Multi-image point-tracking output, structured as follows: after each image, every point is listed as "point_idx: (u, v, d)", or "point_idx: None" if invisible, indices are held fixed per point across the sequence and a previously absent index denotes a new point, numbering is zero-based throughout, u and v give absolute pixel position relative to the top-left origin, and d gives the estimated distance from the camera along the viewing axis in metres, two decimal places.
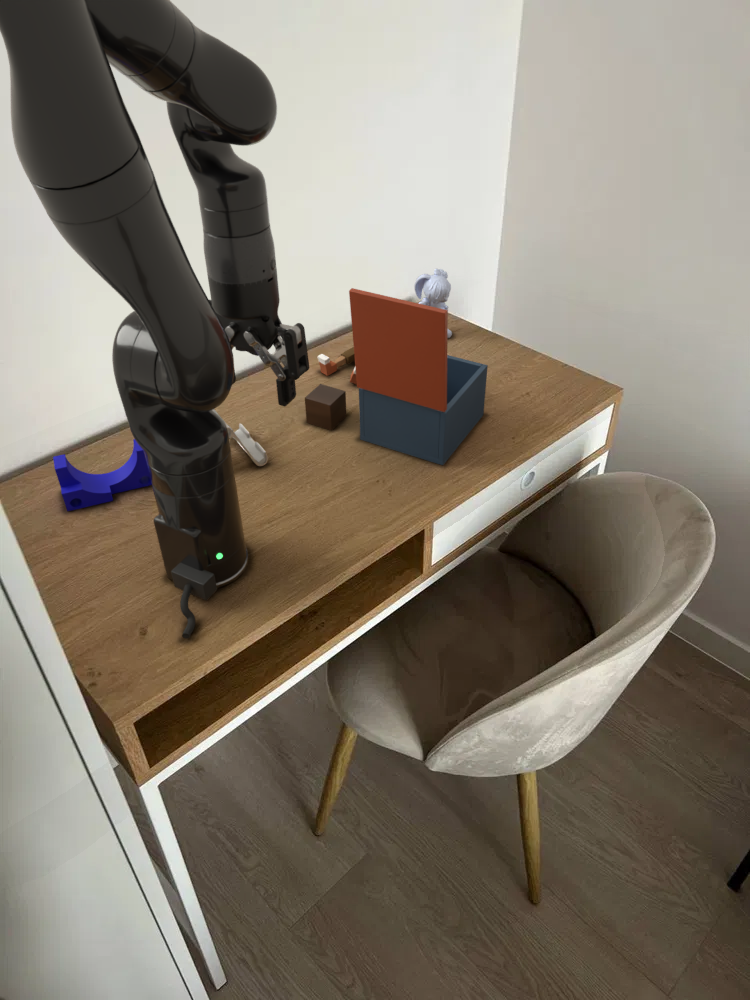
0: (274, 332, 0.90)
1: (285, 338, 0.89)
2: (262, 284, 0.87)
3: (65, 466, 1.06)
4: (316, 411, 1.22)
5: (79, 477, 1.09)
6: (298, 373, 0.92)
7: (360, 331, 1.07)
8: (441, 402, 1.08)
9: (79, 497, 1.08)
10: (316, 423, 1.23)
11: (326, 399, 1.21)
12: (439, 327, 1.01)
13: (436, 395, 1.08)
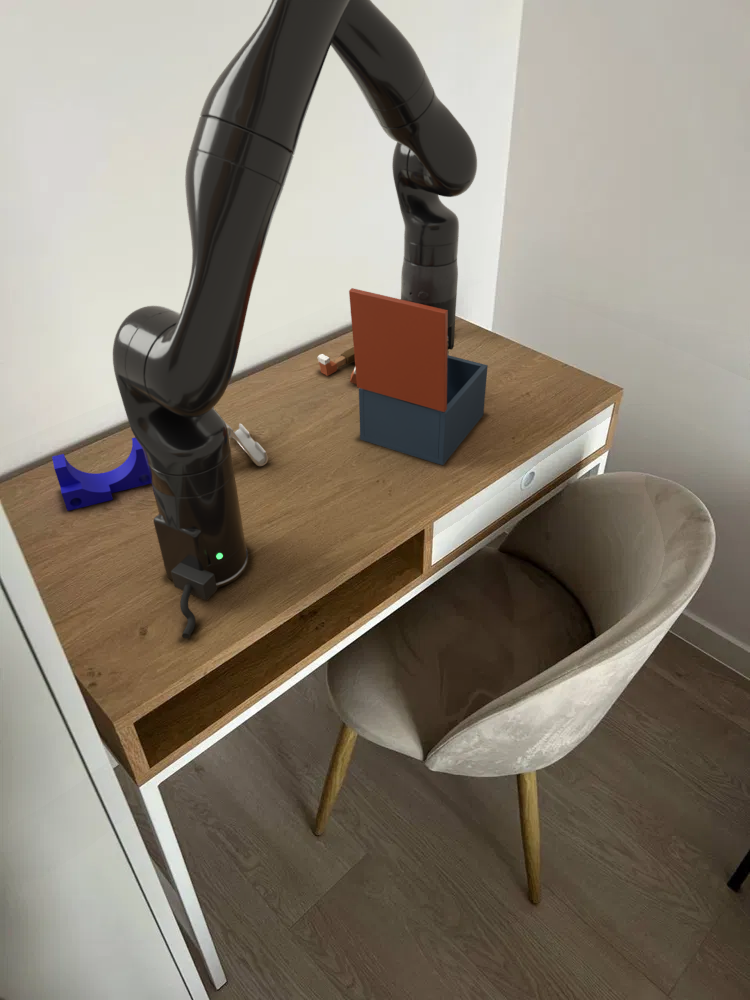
0: None
1: None
2: None
3: (65, 466, 1.06)
4: None
5: (78, 476, 1.09)
6: None
7: (360, 331, 1.07)
8: (441, 402, 1.08)
9: (79, 496, 1.08)
10: None
11: None
12: (439, 327, 1.01)
13: (436, 395, 1.08)
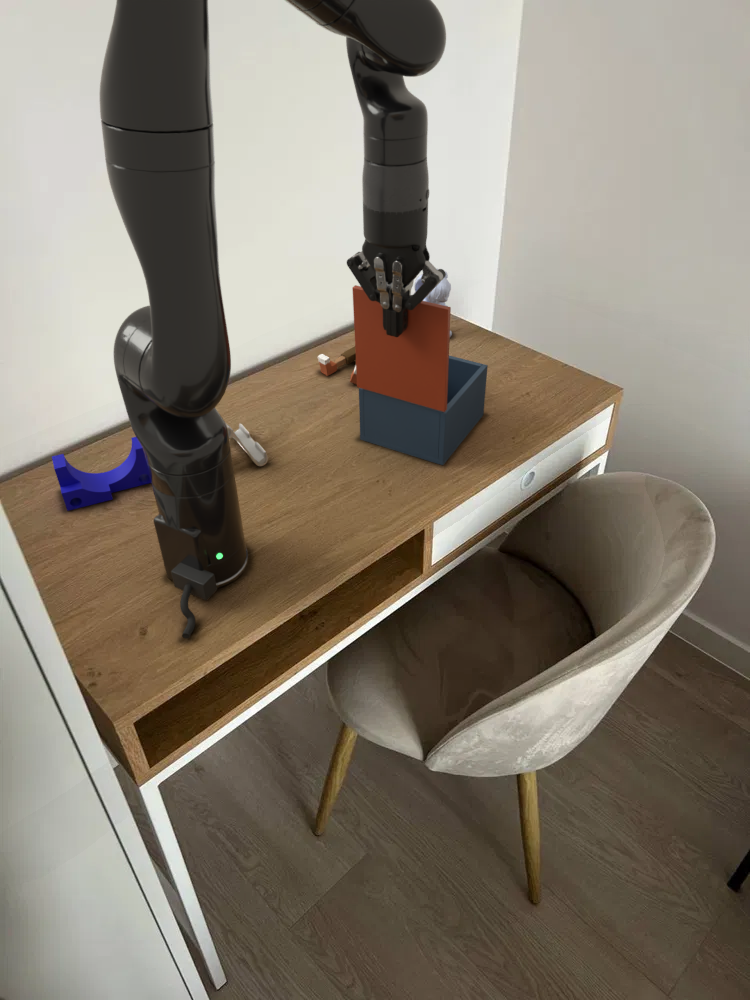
0: (421, 267, 0.96)
1: (429, 280, 0.96)
2: (418, 213, 0.91)
3: (64, 465, 1.07)
4: None
5: (78, 476, 1.09)
6: None
7: (362, 329, 1.08)
8: (442, 402, 1.08)
9: (79, 496, 1.08)
10: None
11: None
12: (442, 324, 1.01)
13: (437, 394, 1.08)
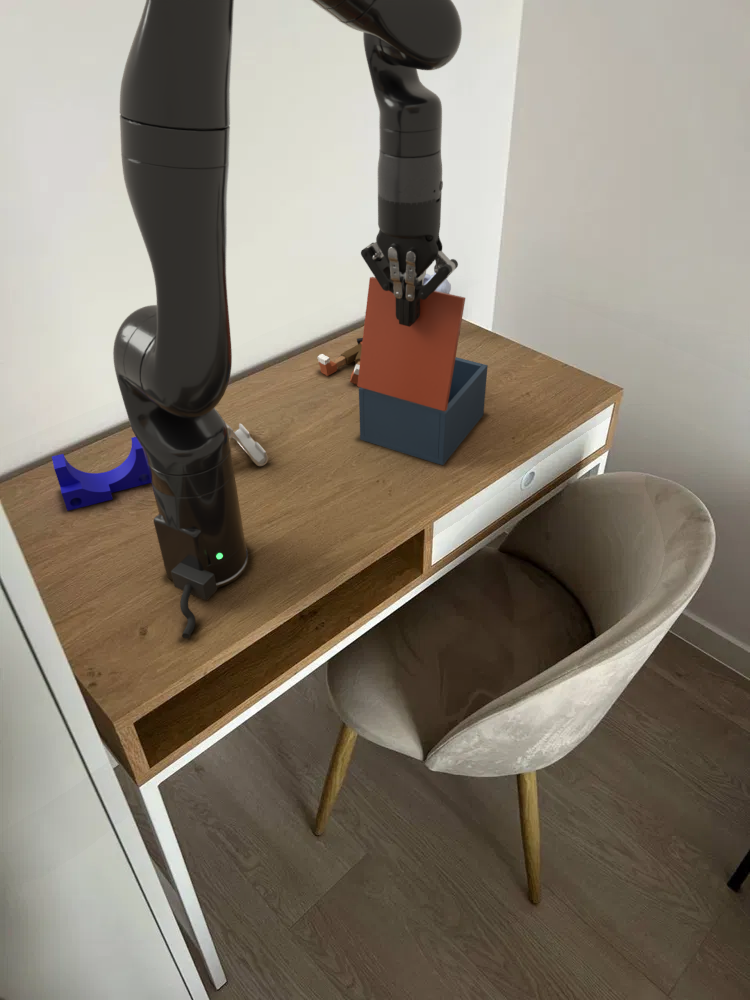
0: (434, 257, 0.98)
1: (441, 270, 0.98)
2: (431, 204, 0.94)
3: (64, 465, 1.07)
4: None
5: (78, 476, 1.09)
6: (427, 296, 1.01)
7: (372, 322, 1.10)
8: (443, 400, 1.09)
9: (79, 496, 1.08)
10: None
11: None
12: (455, 314, 1.04)
13: (439, 392, 1.09)
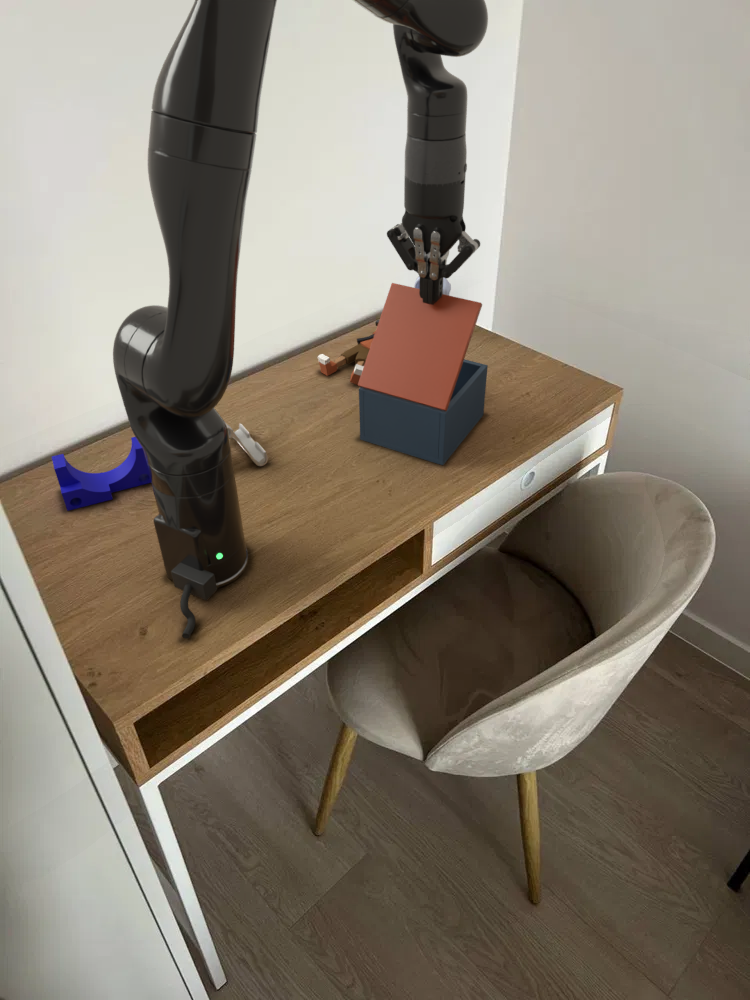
0: (458, 236, 1.03)
1: (465, 249, 1.03)
2: (456, 185, 0.98)
3: (64, 465, 1.07)
4: None
5: (78, 476, 1.09)
6: None
7: (386, 323, 1.14)
8: (445, 398, 1.09)
9: (79, 496, 1.08)
10: None
11: None
12: (470, 316, 1.09)
13: (443, 390, 1.10)
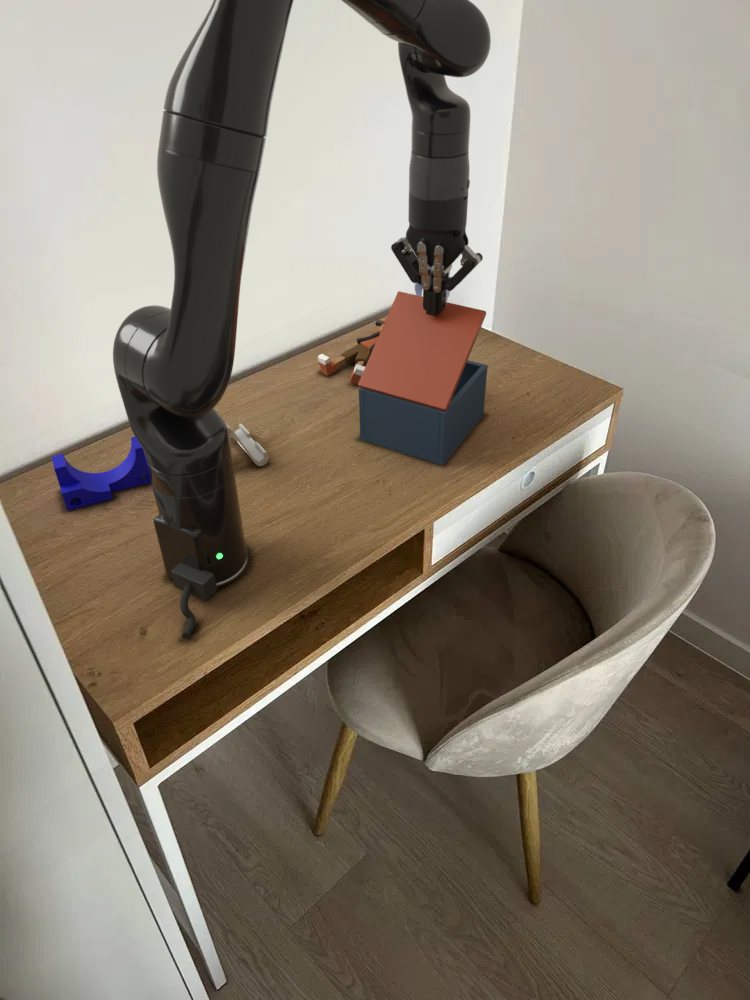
0: (461, 250, 1.05)
1: (468, 263, 1.05)
2: (459, 201, 1.01)
3: (64, 465, 1.07)
4: None
5: (78, 476, 1.09)
6: None
7: (391, 327, 1.15)
8: (446, 399, 1.10)
9: (79, 496, 1.08)
10: None
11: None
12: (474, 323, 1.12)
13: (444, 391, 1.10)
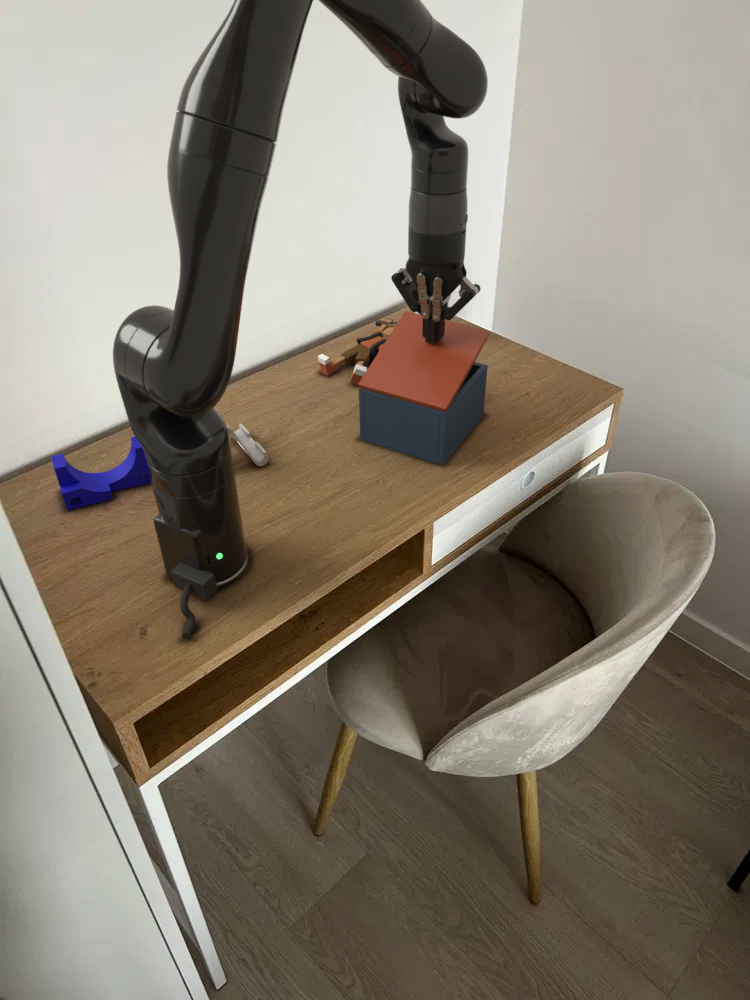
0: (459, 282, 1.08)
1: (466, 294, 1.08)
2: (458, 235, 1.04)
3: (64, 465, 1.07)
4: None
5: (78, 476, 1.09)
6: (452, 317, 1.11)
7: (395, 339, 1.18)
8: (447, 400, 1.10)
9: (79, 496, 1.08)
10: None
11: None
12: (478, 340, 1.15)
13: (445, 393, 1.11)
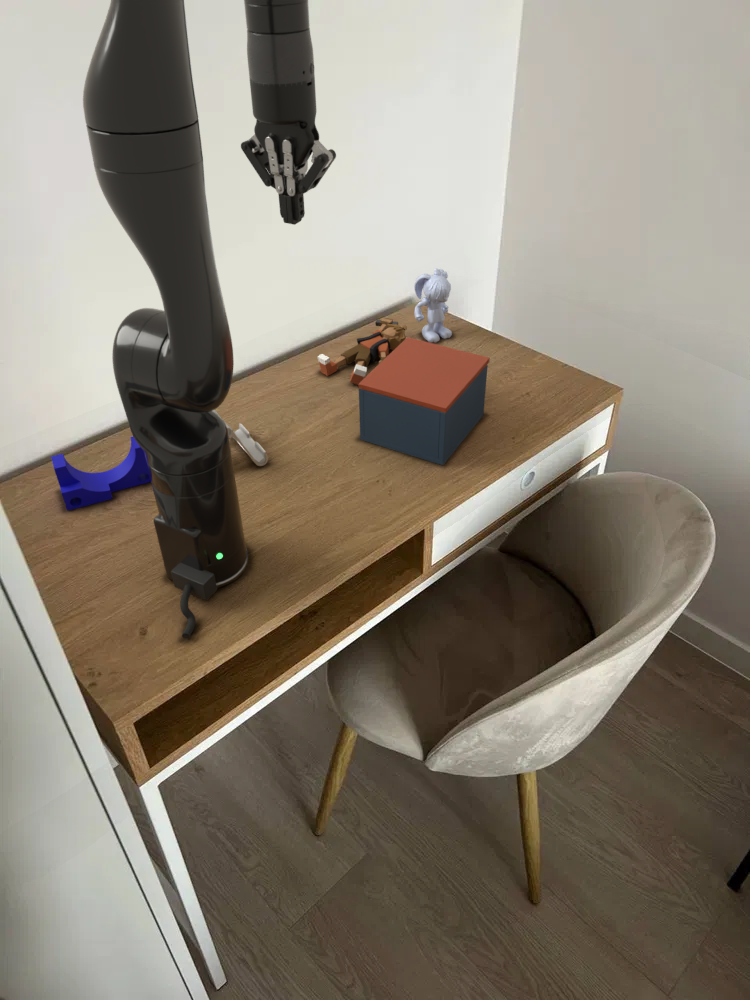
0: (310, 145, 0.96)
1: (318, 159, 0.96)
2: (302, 86, 0.92)
3: (64, 465, 1.07)
4: None
5: (78, 476, 1.09)
6: (307, 189, 1.00)
7: (397, 355, 1.20)
8: (448, 402, 1.10)
9: (79, 496, 1.08)
10: None
11: None
12: (479, 363, 1.18)
13: (446, 397, 1.11)
